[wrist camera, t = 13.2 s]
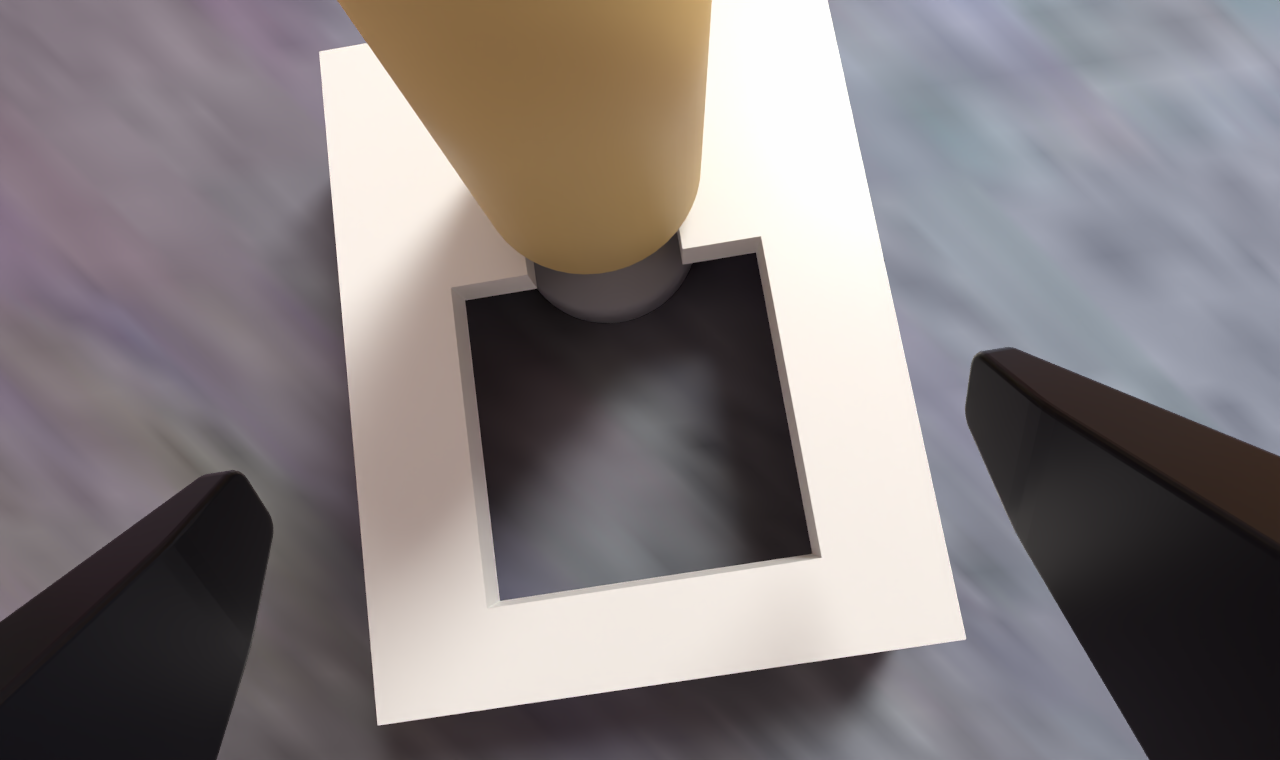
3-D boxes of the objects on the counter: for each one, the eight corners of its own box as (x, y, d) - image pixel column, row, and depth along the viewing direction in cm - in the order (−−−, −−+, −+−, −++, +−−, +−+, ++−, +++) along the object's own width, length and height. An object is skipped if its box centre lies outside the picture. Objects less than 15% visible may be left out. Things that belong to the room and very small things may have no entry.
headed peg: (728, 207, 18) (848, -495, 5) (637, 355, 18) (525, -15, 5) (580, 126, 19) (361, -686, 6) (488, 267, 18) (31, -275, 5)
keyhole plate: (911, 611, 16) (966, 639, 13) (435, 682, 17) (377, 725, 14) (795, 53, 19) (819, -37, 15) (379, 125, 19) (319, 51, 16)
